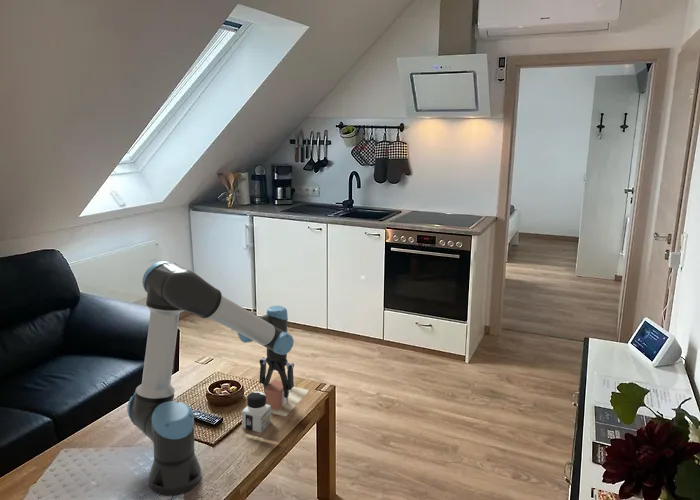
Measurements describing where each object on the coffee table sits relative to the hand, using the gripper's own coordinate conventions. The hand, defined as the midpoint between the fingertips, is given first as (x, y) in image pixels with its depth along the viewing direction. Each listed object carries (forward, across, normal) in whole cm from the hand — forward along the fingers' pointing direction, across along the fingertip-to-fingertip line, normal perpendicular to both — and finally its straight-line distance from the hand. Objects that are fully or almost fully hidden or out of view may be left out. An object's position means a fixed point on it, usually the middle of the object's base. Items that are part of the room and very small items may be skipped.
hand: (276, 402), depth 206 cm
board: (+2, 0, -5) cm, 5 cm away
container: (+2, 0, +15) cm, 15 cm away
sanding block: (+1, 0, 0) cm, 1 cm away
